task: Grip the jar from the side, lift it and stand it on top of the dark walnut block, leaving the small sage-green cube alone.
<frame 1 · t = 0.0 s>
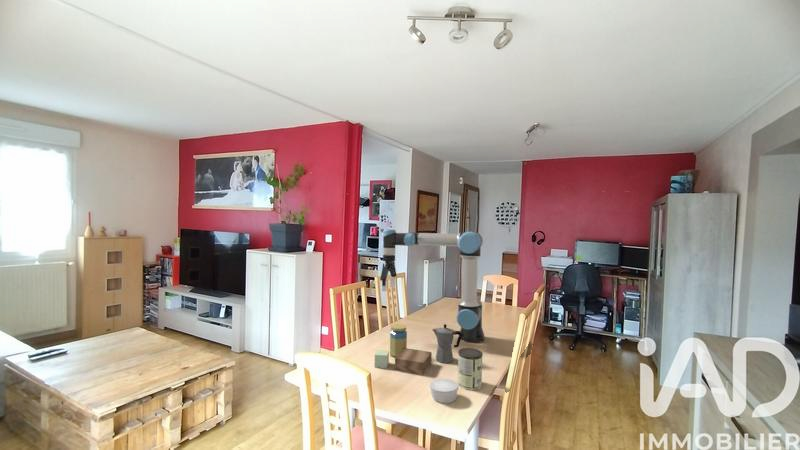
hand: (388, 289, 212), 28 cm above the table, tool pointing down, fingers open, 13 cm apart
jar: (398, 355, 181), on the table
coffeepot: (446, 360, 175), on the table
sage cube: (381, 365, 168), on the table
walnut block: (413, 367, 167), on the table
coffee can: (469, 385, 149), on the table
ramekin: (443, 398, 138), on the table
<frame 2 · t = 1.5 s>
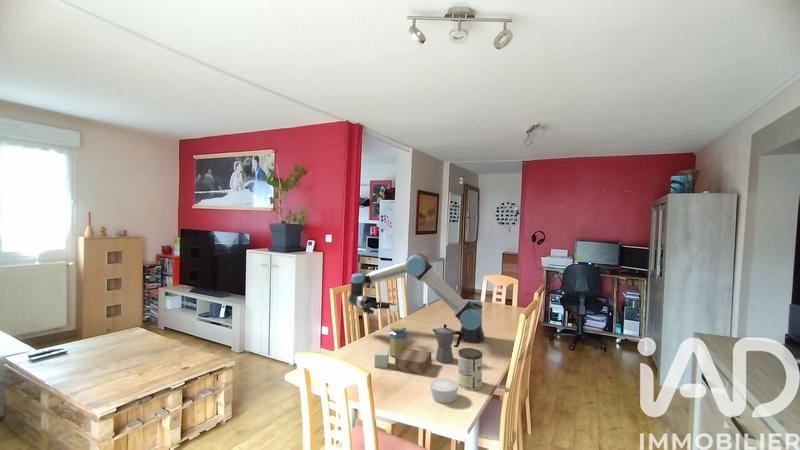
hand: (387, 311, 188), 21 cm above the table, tool horizontal, fingers open, 13 cm apart
nothing on the table moved.
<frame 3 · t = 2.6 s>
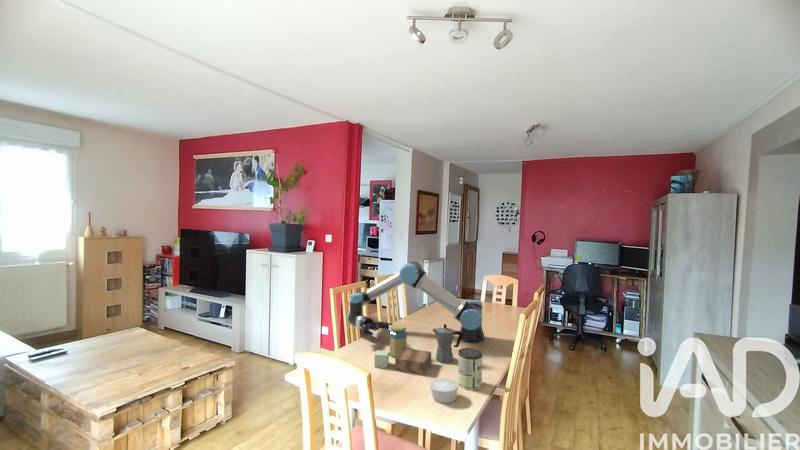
hand: (386, 332, 188), 9 cm above the table, tool horizontal, fingers open, 13 cm apart
nothing on the table moved.
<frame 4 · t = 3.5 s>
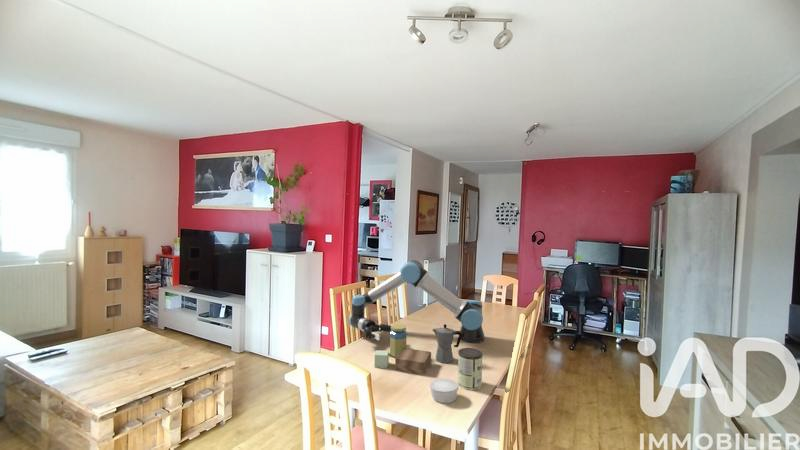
hand: (389, 335, 186), 8 cm above the table, tool horizontal, fingers open, 13 cm apart
nothing on the table moved.
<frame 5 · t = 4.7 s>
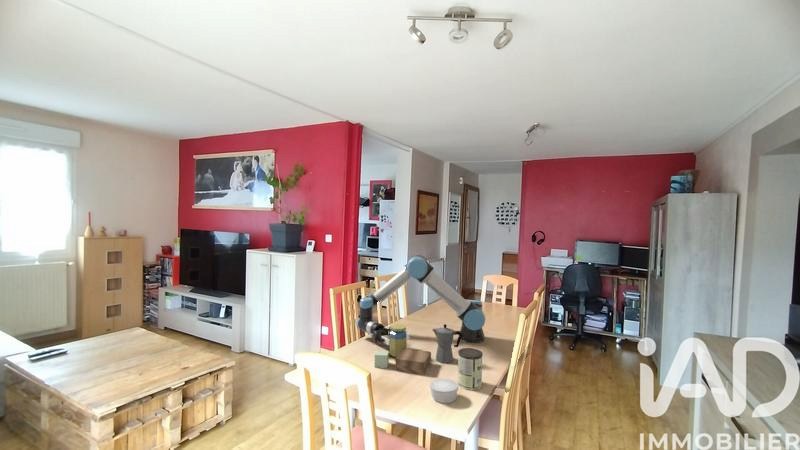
hand: (399, 339, 180), 8 cm above the table, tool horizontal, fingers open, 13 cm apart
nothing on the table moved.
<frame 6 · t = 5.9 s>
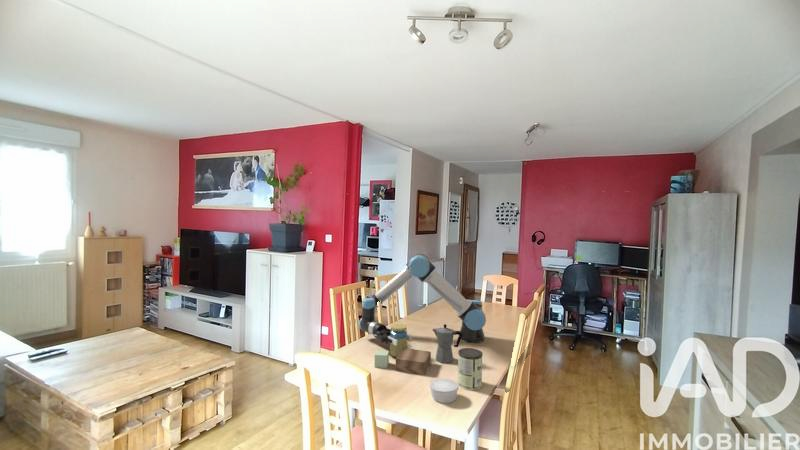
hand: (404, 341, 177), 9 cm above the table, tool horizontal, fingers closed on jar, 9 cm apart
jar: (398, 355, 181), on the table, touching gripper
everything else where it was.
when the fingers open (16 cm above the table, at t = 9.5 s): jar drops 2 cm, point 5 cm above the table.
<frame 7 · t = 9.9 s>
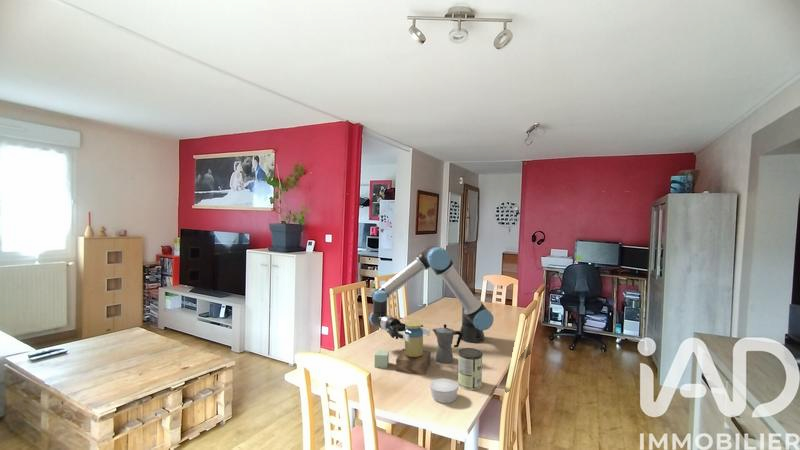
hand: (419, 335, 164), 16 cm above the table, tool horizontal, fingers open, 13 cm apart
jar: (413, 355, 167), point 5 cm above the table
everything else where it was.
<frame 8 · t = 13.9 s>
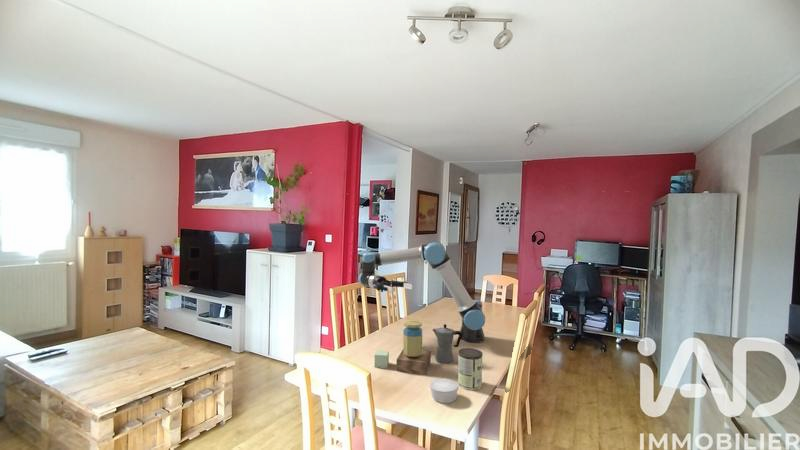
hand: (402, 288, 179), 35 cm above the table, tool horizontal, fingers open, 13 cm apart
at the end: jar 0.8 cm from the walnut block (horizontally); jar point 5.7 cm above the table; jar tilted 4° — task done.
